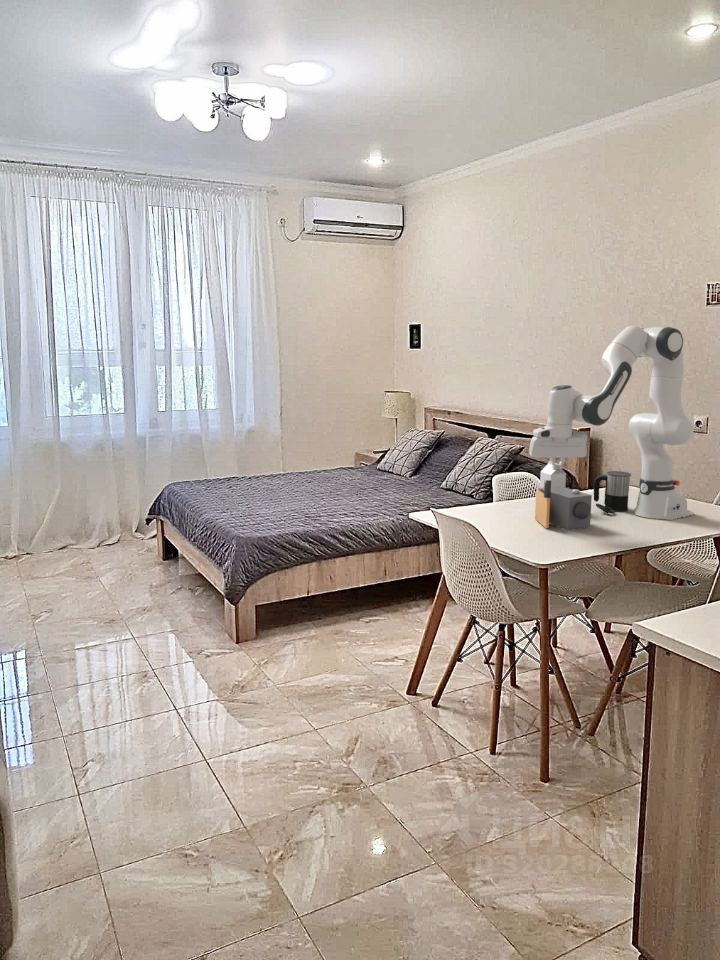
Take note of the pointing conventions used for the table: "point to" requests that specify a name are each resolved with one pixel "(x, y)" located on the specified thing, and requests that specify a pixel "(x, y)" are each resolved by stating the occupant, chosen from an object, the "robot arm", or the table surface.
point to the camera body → (569, 508)
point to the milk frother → (613, 491)
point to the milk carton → (552, 476)
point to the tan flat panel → (543, 504)
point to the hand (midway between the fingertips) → (556, 469)
